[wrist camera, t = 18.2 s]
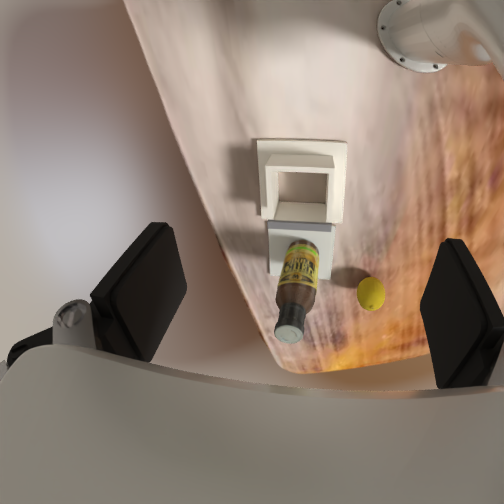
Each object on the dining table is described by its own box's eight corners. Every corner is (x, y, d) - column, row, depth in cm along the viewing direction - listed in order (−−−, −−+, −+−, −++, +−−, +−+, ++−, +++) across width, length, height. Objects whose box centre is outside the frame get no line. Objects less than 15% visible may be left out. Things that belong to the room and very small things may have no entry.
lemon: (378, 265, 54) (384, 293, 47) (384, 286, 56) (389, 314, 50) (352, 273, 56) (354, 301, 50) (359, 292, 59) (361, 321, 52)
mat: (335, 224, 51) (335, 226, 50) (330, 277, 58) (330, 279, 57) (268, 221, 53) (267, 222, 53) (270, 273, 60) (270, 275, 60)
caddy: (346, 141, 42) (352, 155, 36) (341, 220, 50) (344, 244, 44) (257, 139, 45) (247, 152, 39) (262, 216, 53) (254, 239, 47)
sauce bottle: (319, 237, 52) (315, 321, 37) (319, 265, 56) (314, 350, 40) (284, 237, 54) (266, 319, 38) (285, 264, 57) (269, 347, 41)
